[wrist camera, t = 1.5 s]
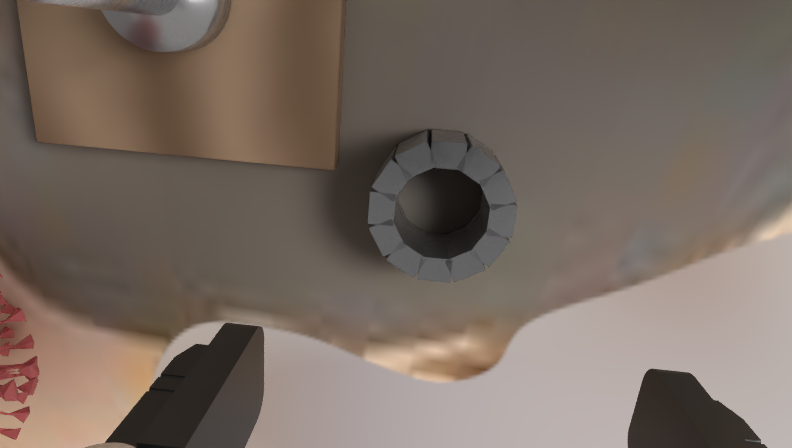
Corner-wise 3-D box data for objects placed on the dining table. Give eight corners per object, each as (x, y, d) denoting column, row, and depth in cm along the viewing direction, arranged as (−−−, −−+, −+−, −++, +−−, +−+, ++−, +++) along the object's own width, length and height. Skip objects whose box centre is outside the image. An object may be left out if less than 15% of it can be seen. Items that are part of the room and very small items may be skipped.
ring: (514, 136, 24) (526, 149, 21) (495, 260, 26) (503, 288, 23) (380, 124, 24) (373, 135, 21) (371, 247, 26) (364, 274, 23)
